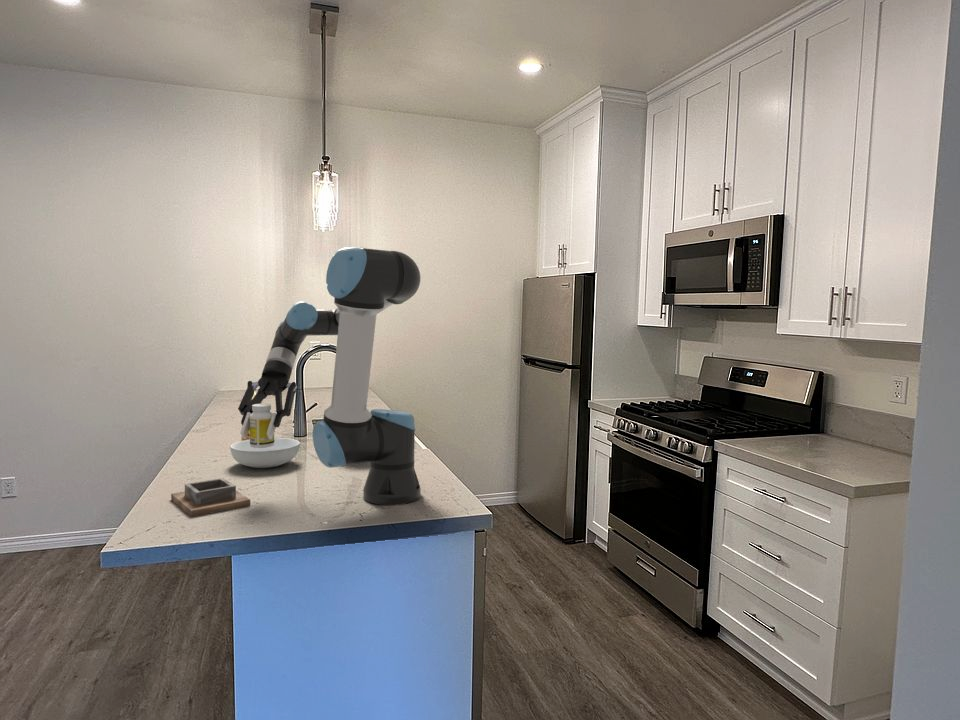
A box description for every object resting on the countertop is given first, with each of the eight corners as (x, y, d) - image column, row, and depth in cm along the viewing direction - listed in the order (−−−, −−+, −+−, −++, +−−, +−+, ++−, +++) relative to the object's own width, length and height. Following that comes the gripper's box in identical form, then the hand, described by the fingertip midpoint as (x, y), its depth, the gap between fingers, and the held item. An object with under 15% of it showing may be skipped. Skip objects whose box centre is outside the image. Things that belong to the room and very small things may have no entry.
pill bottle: (277, 443, 167) (277, 403, 166) (270, 448, 161) (269, 407, 160) (254, 443, 167) (253, 402, 166) (246, 448, 161) (245, 406, 160)
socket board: (250, 505, 155) (250, 487, 155) (191, 516, 146) (191, 498, 145) (226, 489, 168) (226, 473, 167) (171, 499, 159) (170, 482, 158)
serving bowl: (309, 458, 205) (309, 438, 204) (283, 475, 184) (283, 452, 184) (249, 456, 207) (249, 435, 206) (217, 472, 186) (216, 449, 186)
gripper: (315, 376, 177) (296, 444, 162) (249, 374, 178) (224, 442, 163) (309, 359, 171) (288, 429, 157) (241, 357, 172) (215, 427, 157)
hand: (256, 436), depth 160 cm, fingers closed on pill bottle, 6 cm apart
